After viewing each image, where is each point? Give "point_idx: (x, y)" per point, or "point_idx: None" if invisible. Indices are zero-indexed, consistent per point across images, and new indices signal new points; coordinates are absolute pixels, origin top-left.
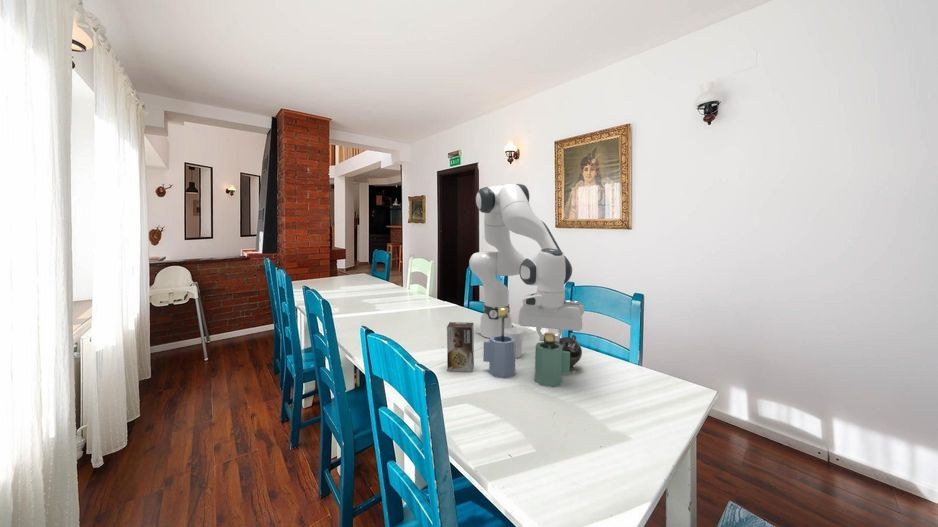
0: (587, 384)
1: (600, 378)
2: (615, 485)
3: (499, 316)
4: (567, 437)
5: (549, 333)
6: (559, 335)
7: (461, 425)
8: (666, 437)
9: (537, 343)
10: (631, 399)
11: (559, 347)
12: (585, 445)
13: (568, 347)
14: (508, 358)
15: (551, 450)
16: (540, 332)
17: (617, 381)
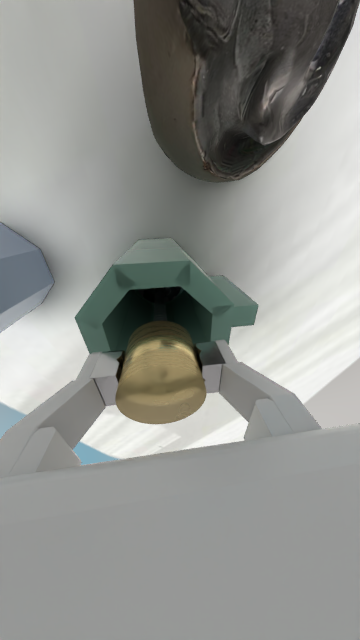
0: (259, 257)
1: (310, 189)
2: (242, 439)
3: None
4: (209, 415)
5: (158, 390)
6: (240, 406)
7: (91, 439)
8: (318, 379)
9: (83, 328)
10: (330, 299)
11: (214, 340)
12: (226, 417)
13: (260, 127)
14: (2, 323)
15: (194, 432)
16: (79, 416)
17: (353, 197)
